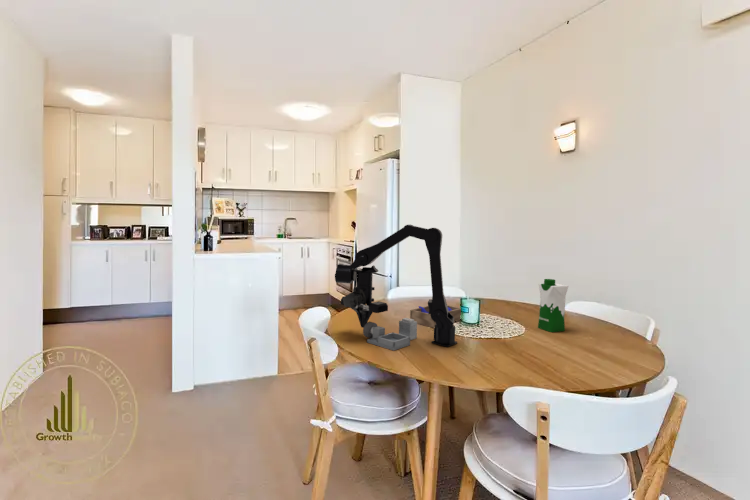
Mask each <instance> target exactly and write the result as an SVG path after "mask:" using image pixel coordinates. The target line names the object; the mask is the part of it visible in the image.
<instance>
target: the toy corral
mask: <svg viewBox="0 0 750 500" xmlns="http://www.w3.org/2000/svg"><path fill="white" fill-rule="evenodd" d="M447 306H448V307H449V308H451V309H452V310H451V311H448V312H449V313H450V314H451V315H452V316H453V317H454V323H456V322H460V321H461V320H460V315H461V308H462V307H458V306H453V305H451V306H450V305H447ZM422 307H423V308H424V309H425V310H426V312H429V307H428V305H426V306H422ZM421 309H422V308H419V307H418V308H415V309H414V308H413V309H411V310H410V312H409V313H410V314H409V318H410V319H414V321H416V322H417V325H420V326H426V327H429V328H433V329H434V328H435V324H436V322H434V321H433V320H432V319H431V316H430V314H428V313H424V312H421ZM455 321H456V322H455Z"/></svg>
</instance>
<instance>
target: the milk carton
mask: <svg viewBox="0 0 750 500" xmlns="http://www.w3.org/2000/svg"><path fill="white" fill-rule="evenodd" d="M538 287H539V288H538V289H539V293H540V295H539V313H538V315H539V316H538V322H537V329H541V330H542V331H546V332H549V333H558V332H565V331H566V328H565V327H566V325H565V313H566V312H565V311H566V296H567V292H568V290H569V285H566V284H560V283H556V279H552V278H545V279H544V281H543V283H538Z"/></svg>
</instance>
